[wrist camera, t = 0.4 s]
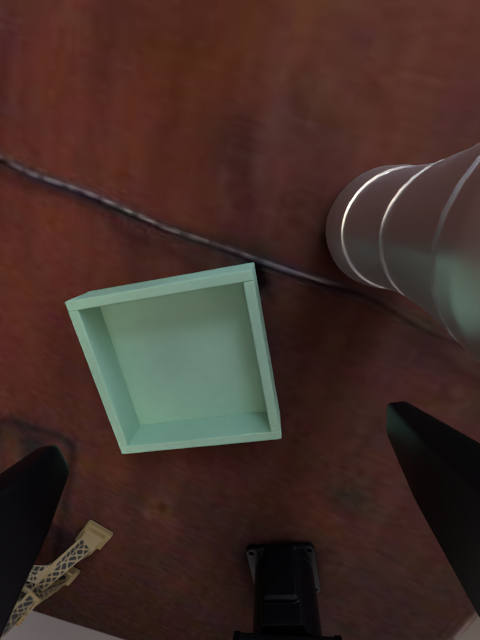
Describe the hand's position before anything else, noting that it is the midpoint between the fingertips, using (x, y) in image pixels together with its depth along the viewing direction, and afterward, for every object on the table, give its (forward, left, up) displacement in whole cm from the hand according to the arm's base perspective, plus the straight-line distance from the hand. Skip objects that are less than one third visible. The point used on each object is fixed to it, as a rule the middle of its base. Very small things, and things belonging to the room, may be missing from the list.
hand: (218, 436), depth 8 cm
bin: (-4, +5, -14) cm, 16 cm away
